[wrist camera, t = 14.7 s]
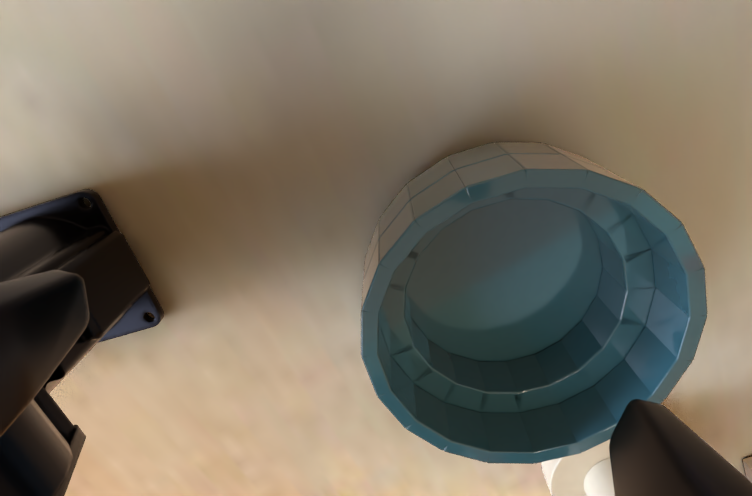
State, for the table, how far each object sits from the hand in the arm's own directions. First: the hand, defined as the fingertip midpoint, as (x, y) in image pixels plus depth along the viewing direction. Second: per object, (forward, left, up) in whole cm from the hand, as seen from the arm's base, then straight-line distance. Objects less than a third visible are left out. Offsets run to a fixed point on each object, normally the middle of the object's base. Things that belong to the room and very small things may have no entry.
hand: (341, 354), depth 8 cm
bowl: (+4, -6, -13) cm, 15 cm away
